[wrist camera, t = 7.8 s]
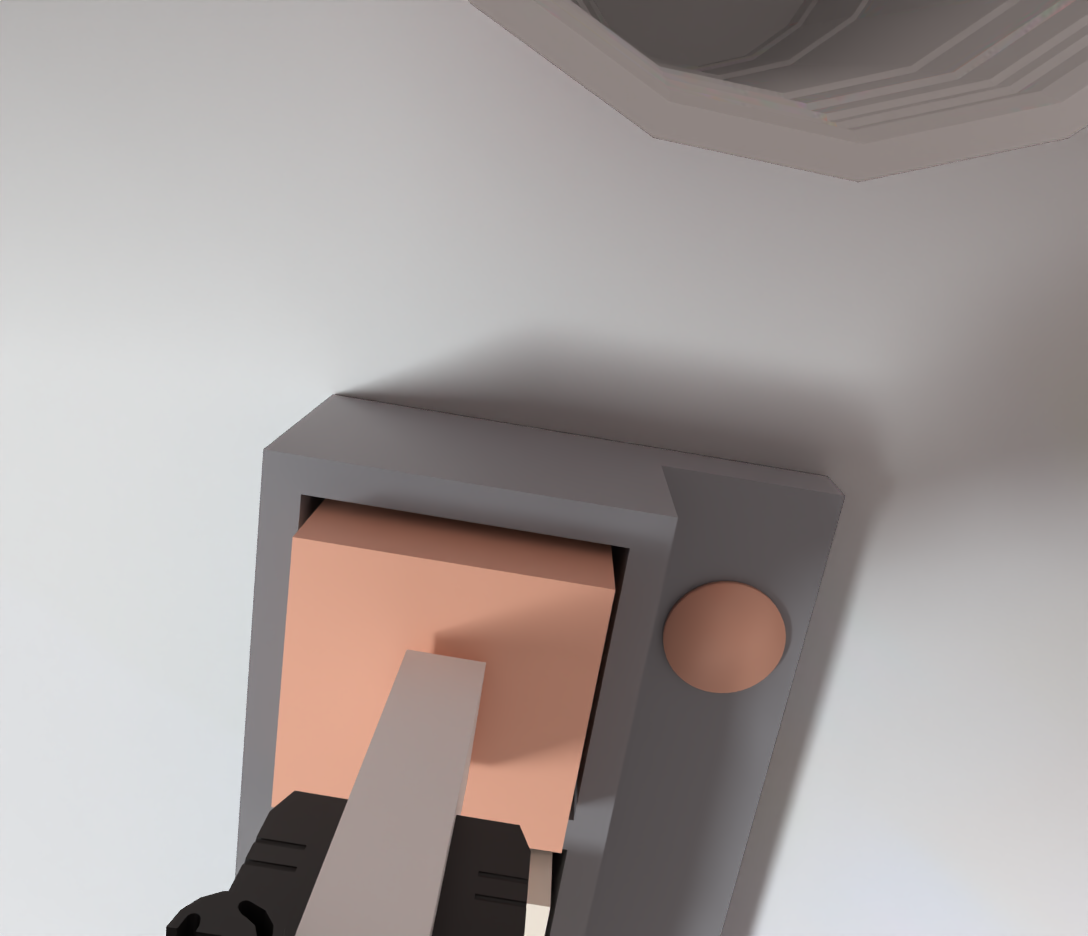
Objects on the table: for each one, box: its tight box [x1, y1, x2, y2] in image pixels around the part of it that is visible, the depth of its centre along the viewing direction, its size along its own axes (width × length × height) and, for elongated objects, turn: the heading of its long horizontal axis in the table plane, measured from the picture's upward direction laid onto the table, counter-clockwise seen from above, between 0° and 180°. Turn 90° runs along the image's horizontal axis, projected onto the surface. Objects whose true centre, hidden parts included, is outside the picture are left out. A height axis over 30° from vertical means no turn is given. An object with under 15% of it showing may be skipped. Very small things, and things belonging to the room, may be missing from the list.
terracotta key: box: [271, 498, 615, 853], centre depth 18 cm, size 6×6×3 cm
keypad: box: [235, 394, 845, 936], centre depth 23 cm, size 13×23×5 cm, turn 171°
